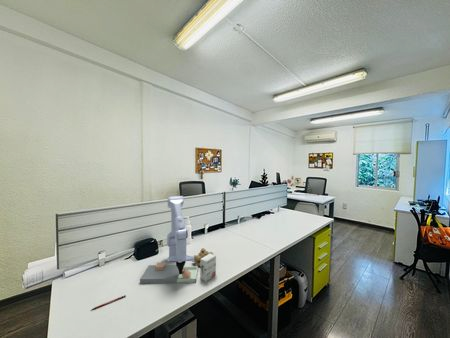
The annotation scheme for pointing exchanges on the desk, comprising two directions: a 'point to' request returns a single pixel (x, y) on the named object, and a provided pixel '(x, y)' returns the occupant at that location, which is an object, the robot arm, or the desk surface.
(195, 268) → the tray
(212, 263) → the ink box
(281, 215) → the desk surface
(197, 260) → the mineral formation
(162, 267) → the tile
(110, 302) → the pencil
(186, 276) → the tile
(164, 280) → the board
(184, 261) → the robot arm
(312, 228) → the desk surface
